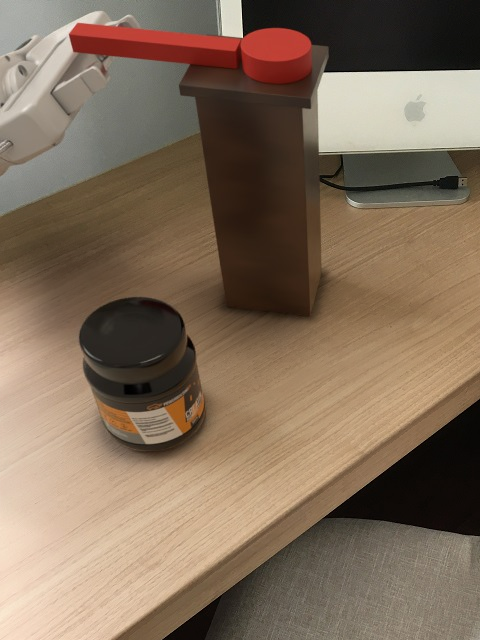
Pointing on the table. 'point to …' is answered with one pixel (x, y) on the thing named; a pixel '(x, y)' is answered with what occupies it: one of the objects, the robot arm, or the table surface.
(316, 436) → the table surface
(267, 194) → the walnut stand
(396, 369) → the table surface
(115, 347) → the supplement container
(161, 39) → the red serving spoon
